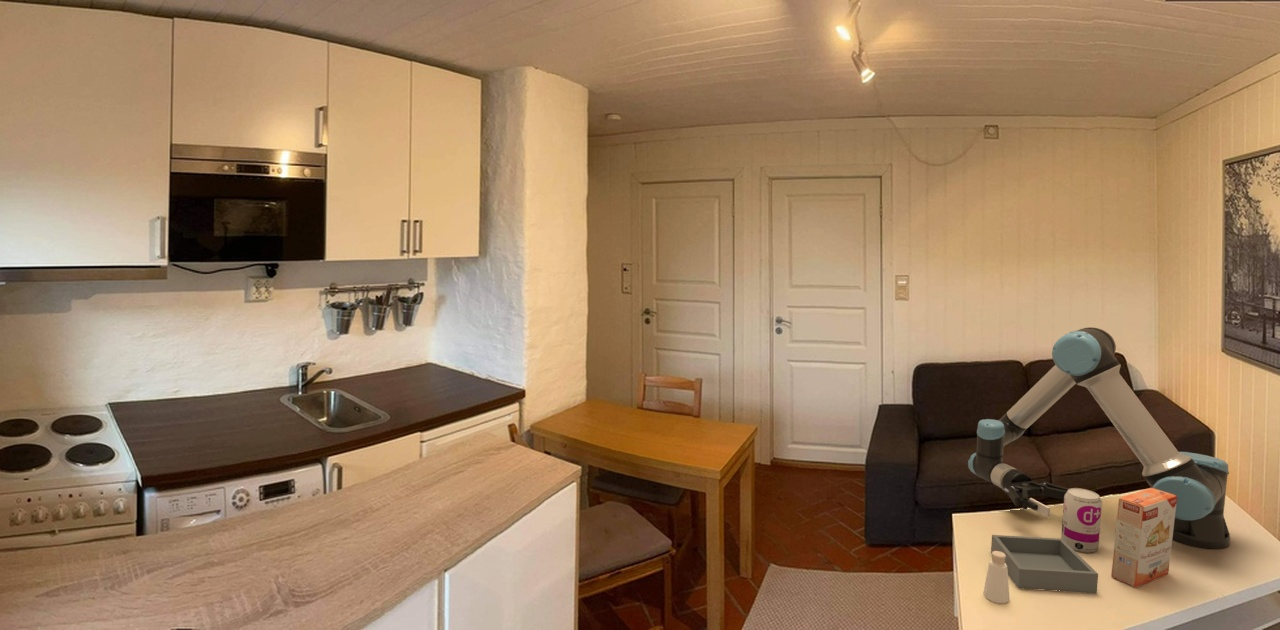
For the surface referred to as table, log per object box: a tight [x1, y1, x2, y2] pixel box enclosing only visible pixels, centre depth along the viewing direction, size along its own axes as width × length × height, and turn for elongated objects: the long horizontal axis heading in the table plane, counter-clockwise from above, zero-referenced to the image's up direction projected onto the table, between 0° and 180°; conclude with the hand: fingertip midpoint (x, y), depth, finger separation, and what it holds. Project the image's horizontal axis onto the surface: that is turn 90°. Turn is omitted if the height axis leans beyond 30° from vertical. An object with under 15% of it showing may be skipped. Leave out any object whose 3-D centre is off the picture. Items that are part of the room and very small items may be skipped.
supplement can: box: [1060, 487, 1103, 554], centre depth 166 cm, size 8×8×15 cm
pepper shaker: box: [983, 551, 1011, 605], centre depth 145 cm, size 5×5×11 cm
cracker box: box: [1111, 487, 1177, 588], centre depth 151 cm, size 14×6×21 cm, turn 114°
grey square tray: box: [990, 534, 1099, 595], centre depth 155 cm, size 17×17×5 cm
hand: (1070, 510), depth 169 cm, fingers open, 13 cm apart
